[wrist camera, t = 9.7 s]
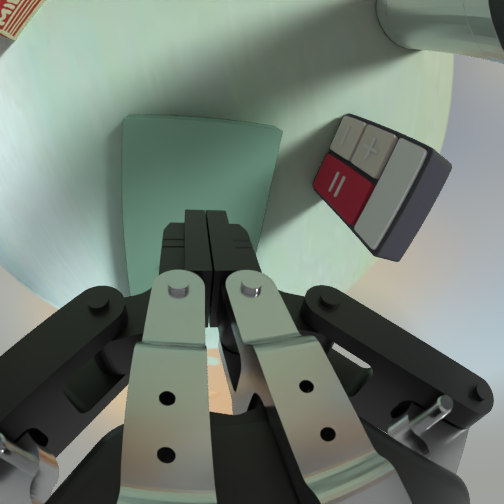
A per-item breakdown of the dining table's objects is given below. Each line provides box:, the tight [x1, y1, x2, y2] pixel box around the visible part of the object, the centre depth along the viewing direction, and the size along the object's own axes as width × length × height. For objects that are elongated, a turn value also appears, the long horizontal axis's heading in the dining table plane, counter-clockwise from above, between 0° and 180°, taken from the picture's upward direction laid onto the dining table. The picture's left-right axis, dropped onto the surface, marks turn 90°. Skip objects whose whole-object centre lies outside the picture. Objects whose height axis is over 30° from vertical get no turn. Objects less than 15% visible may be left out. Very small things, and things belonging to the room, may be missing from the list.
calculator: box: [313, 114, 452, 262], centre depth 27 cm, size 11×4×15 cm, turn 161°
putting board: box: [122, 115, 283, 323], centre depth 34 cm, size 16×28×3 cm, turn 172°
